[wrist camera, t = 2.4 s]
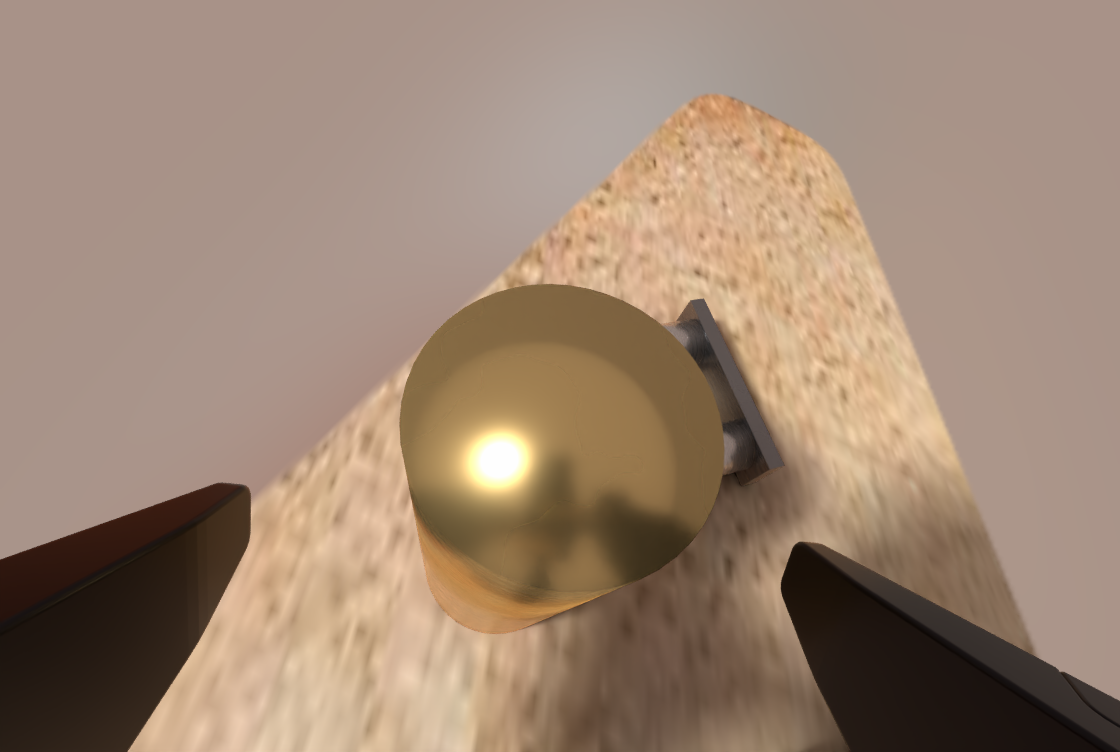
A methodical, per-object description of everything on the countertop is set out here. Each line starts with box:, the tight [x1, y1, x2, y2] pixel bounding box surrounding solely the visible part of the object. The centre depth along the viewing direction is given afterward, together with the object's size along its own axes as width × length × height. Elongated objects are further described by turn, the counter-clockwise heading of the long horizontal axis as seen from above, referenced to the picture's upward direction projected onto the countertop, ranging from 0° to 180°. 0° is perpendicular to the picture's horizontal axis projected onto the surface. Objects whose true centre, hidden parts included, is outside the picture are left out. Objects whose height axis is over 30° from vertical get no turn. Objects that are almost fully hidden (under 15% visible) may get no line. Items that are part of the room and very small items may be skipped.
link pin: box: [400, 284, 725, 634], centre depth 12 cm, size 5×5×11 cm
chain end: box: [661, 299, 784, 486], centre depth 20 cm, size 7×4×2 cm, turn 16°
